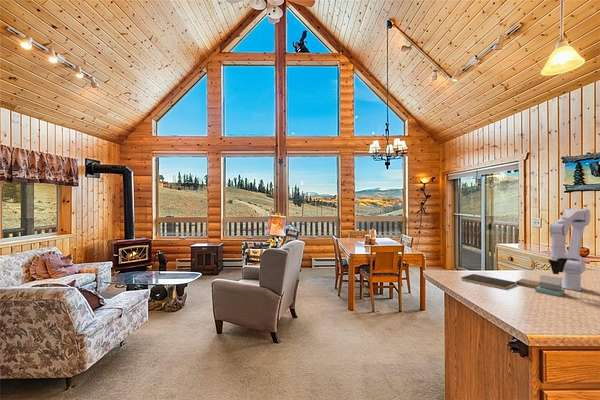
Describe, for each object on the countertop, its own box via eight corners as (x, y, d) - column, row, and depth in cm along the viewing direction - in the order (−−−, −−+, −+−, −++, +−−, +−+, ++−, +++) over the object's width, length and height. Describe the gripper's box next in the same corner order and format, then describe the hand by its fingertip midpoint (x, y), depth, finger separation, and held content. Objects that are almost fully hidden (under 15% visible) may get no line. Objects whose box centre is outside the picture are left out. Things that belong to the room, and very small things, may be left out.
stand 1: (522, 282, 186) (522, 278, 186) (543, 285, 178) (543, 282, 178) (516, 284, 180) (516, 281, 180) (537, 288, 172) (537, 285, 172)
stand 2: (541, 288, 172) (541, 284, 172) (564, 293, 165) (564, 289, 165) (535, 291, 166) (535, 287, 166) (559, 296, 158) (559, 292, 158)
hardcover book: (504, 290, 169) (504, 286, 169) (460, 281, 187) (460, 277, 187) (516, 286, 179) (516, 282, 179) (473, 277, 197) (473, 273, 197)
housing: (561, 289, 163) (561, 278, 163) (559, 291, 161) (559, 279, 161) (542, 286, 170) (542, 274, 170) (539, 287, 167) (540, 276, 167)
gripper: (552, 244, 172) (552, 269, 172) (544, 246, 163) (543, 273, 163) (569, 246, 166) (569, 272, 166) (562, 248, 157) (561, 276, 157)
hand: (557, 273), depth 164 cm, fingers open, 7 cm apart
